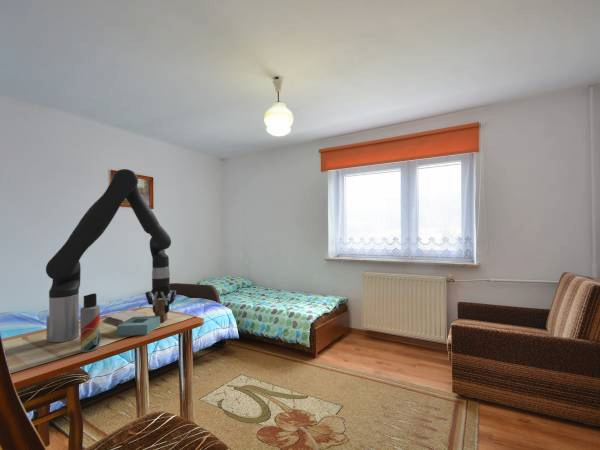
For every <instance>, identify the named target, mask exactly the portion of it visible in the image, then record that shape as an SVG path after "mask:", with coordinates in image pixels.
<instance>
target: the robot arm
mask: <svg viewBox="0 0 600 450" xmlns="http://www.w3.org/2000/svg"><path fill="white" fill-rule="evenodd" d="M138 184H139V177H138V175H137V174H136V172H134V171H133V170H132V169H127V168H121V169H117V170H116V171H115V172H114V173H113V174H112V177H111V181H110V183H109V185H108V186H107V188H106V189H105V191H104V192H103V194H102V195H101V196H100V197H99V198H98V199H97V200H96V201H95V202H94V203H93V204H91V206H90V207H89V208H88V210H86V212H85V213H84V215H83V216H82V218H80V220H79V222H78V223H77V225H76V226H75V228H74V229H73V231H72V232H71V234H70V235H69V237H68V238H67V240H66V241H65V243H64V244H63V245H62V246H61V248H60V249H59V250H58V251H57V252H56V253H55V254H54V255H53V256H52V257H51V259H49V260H48V262H47V263H46V266H45V273H46V275H47V276H48V277H49V278H51V279H52V283H51V287H50V289H49V291H48V311H49V312H48V316H46V319H45V320H46V324H45V326H46V342H49V343H63V342H67V341H70V340H74V339H76V338H78V337H79V335H80V303H79V301H80V297H79V293H80V291H79V290H80V286H81V274H82V273H81V272H82V271H81V270H82V269H81V262H80V260H81V258H82V257H83V255H84V253H85V252H86V251H87V250H88V249H89V248H90V247H92V245H93V244H94V243H95V242H96V241H97V240H98V239H99V238H100V237H101V236H102V235H103V234H104V232H105V231H106V230H107V228H108V227H109V225H110V224H111V222H112V220H113V219H114V217H115V216H116V214H117V212H118V211H119V209H120V207H121V205H122V203H123V202H124V201H125V200H126V201H127V203H128V204H129V205H130V208H131V209H132V211H133V213H134V215H135V218H136V219H137V220H138V223H139V224H140V226H141V227H142V229H143V231H144V232H145V233H146V234H148V235H150V236H151V238H150V239H149V251H150V254H151V257H152V259H151V260H152V261H151V262H152V264H151V265H152V270H151V287H152V288H151V290H148V291H146V292H145V293H144V294H145V297H146V300H147V303H148V305H151V306H152V313H153V314H154V315H155V301H156V300H158V299H163V301H164V302H165V313H167V314H168V313H169V312H170V305H171V304H174V302H175V298H176V295H177V290H172V289H171V287H170V284H171V283H170V282H171V280H170V277H171V276H170V275H171V273H170V261H169V260H170V259H169V255H167V254H166V250H167V249H169V248H170V246H171V244H172V238H171V237H170V235H169V234H168V232H167V231H166V230H165V229H164V228H163V227H162V225H161V223H159V220H158V219H157V216H156V215H155V213H154V212H153V210H152V208H151V207H150V205H149V204H148V203H147V202H146V200H145V199H144V197H143V194H141V191H140V189H139V186H138ZM169 294H170V297H169ZM152 295H153V296H154V297H153V296H152Z"/></svg>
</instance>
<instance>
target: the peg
mask: <svg viewBox="0 0 600 450" xmlns="http://www.w3.org/2000/svg"><path fill="white" fill-rule="evenodd" d="M154 316H160V323H165V322H166V321H168V313H165V302H164V301H163V299H162V298H159V299H158V300H156V301H155V314H154Z"/></svg>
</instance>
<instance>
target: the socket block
mask: <svg viewBox="0 0 600 450" xmlns="http://www.w3.org/2000/svg"><path fill="white" fill-rule="evenodd" d="M159 326H161V322H160V316H155V315H154V316H152V315H150V316H148V315H147V317H132V318H130V319H128V320H127V321H125V322H123V323H121V324H117V325H116V335H117V336H118V337H120V336H123V335H124V336H145V335H149V334H150V333H151V332H153V331H155V330H156V329H157V328H158V327H159ZM117 336H116V337H117Z"/></svg>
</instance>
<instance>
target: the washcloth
mask: <svg viewBox="0 0 600 450" xmlns="http://www.w3.org/2000/svg"><path fill="white" fill-rule="evenodd" d="M132 317H148V315H147V314H145V313H141V312H139V311H135V310H131V309H126V310H124V311H120V312H114V313H111V314H110V313H109V314H106V317H105V319H106V320H107V321H109V322H110V323H113V324H117V325H120V324H121V323H123V322H125V321H127V320H128V319H130V318H132Z"/></svg>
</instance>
